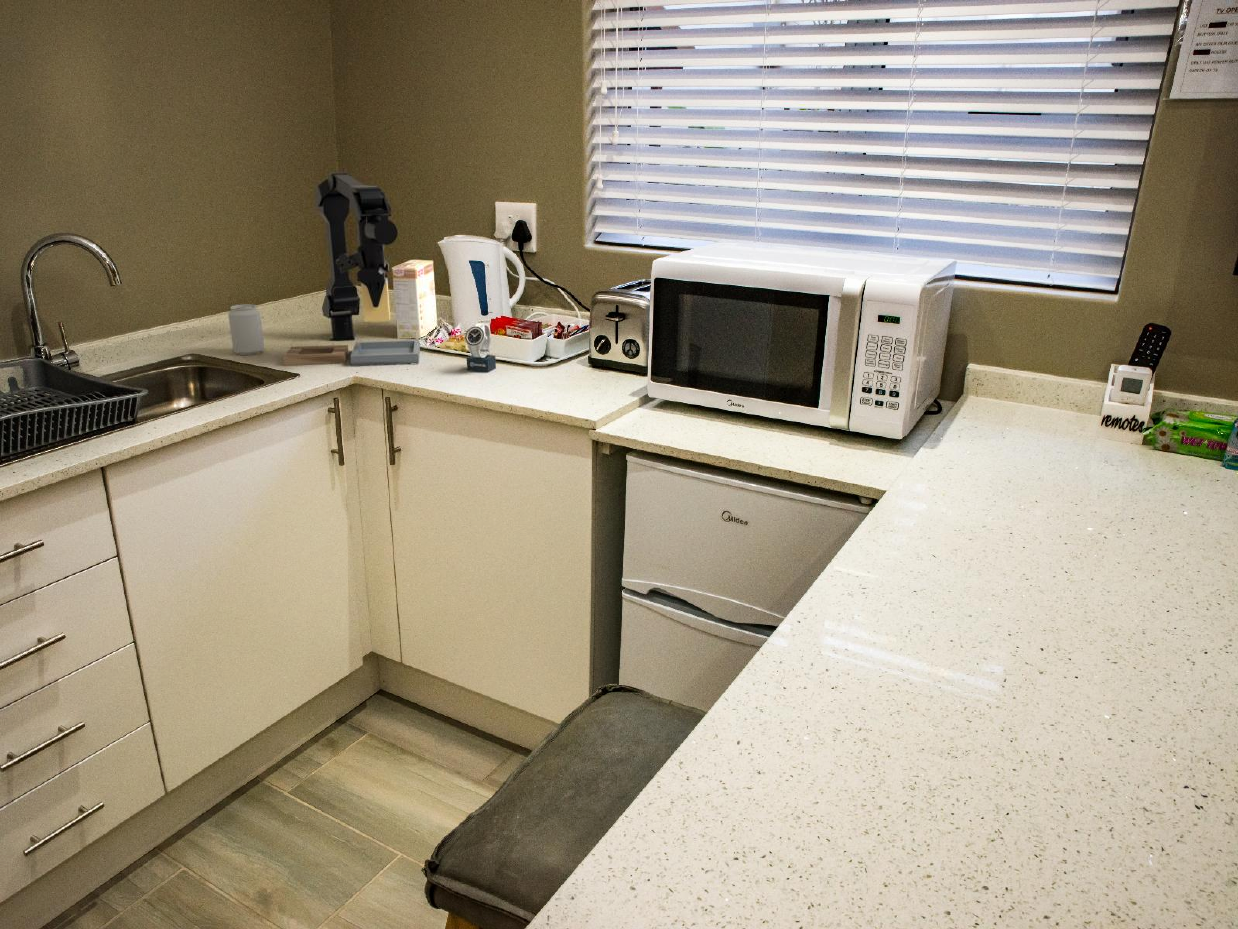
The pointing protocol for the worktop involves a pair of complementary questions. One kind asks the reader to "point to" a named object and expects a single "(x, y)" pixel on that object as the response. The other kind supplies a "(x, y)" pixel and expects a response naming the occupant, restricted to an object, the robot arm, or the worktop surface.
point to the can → (246, 329)
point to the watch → (479, 340)
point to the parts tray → (385, 352)
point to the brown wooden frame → (316, 355)
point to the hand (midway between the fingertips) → (376, 305)
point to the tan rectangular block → (376, 312)
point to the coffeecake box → (414, 298)
